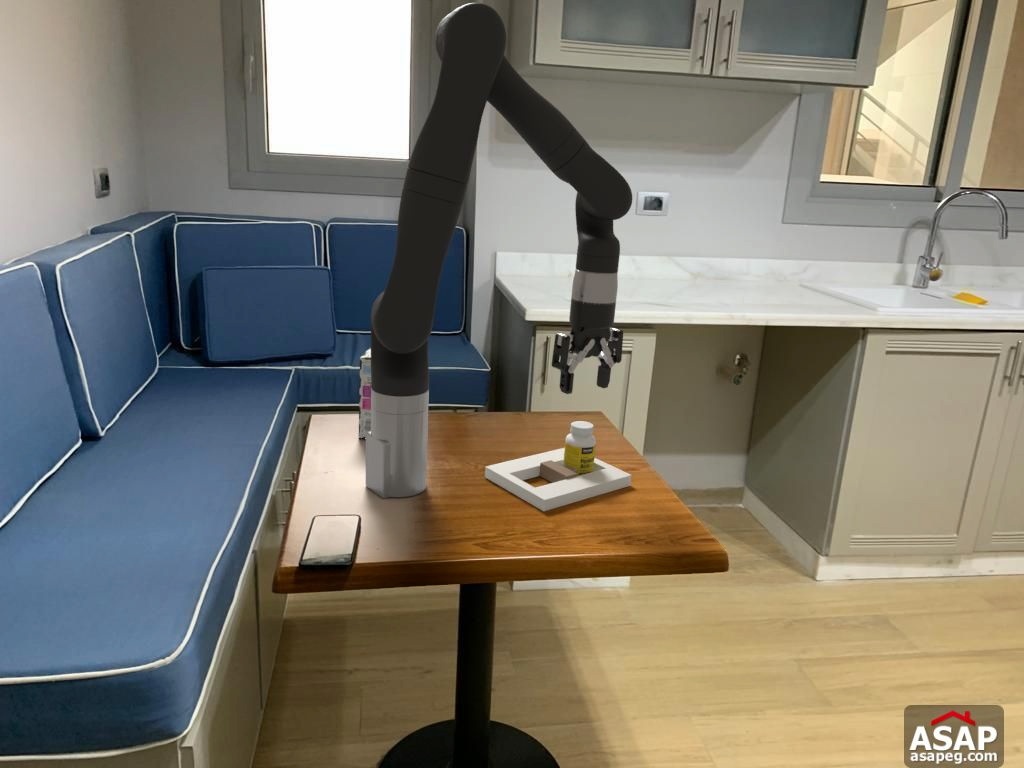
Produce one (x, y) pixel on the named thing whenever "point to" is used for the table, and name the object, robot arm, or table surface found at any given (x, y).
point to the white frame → (555, 479)
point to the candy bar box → (365, 394)
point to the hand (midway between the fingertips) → (584, 389)
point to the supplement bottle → (580, 448)
